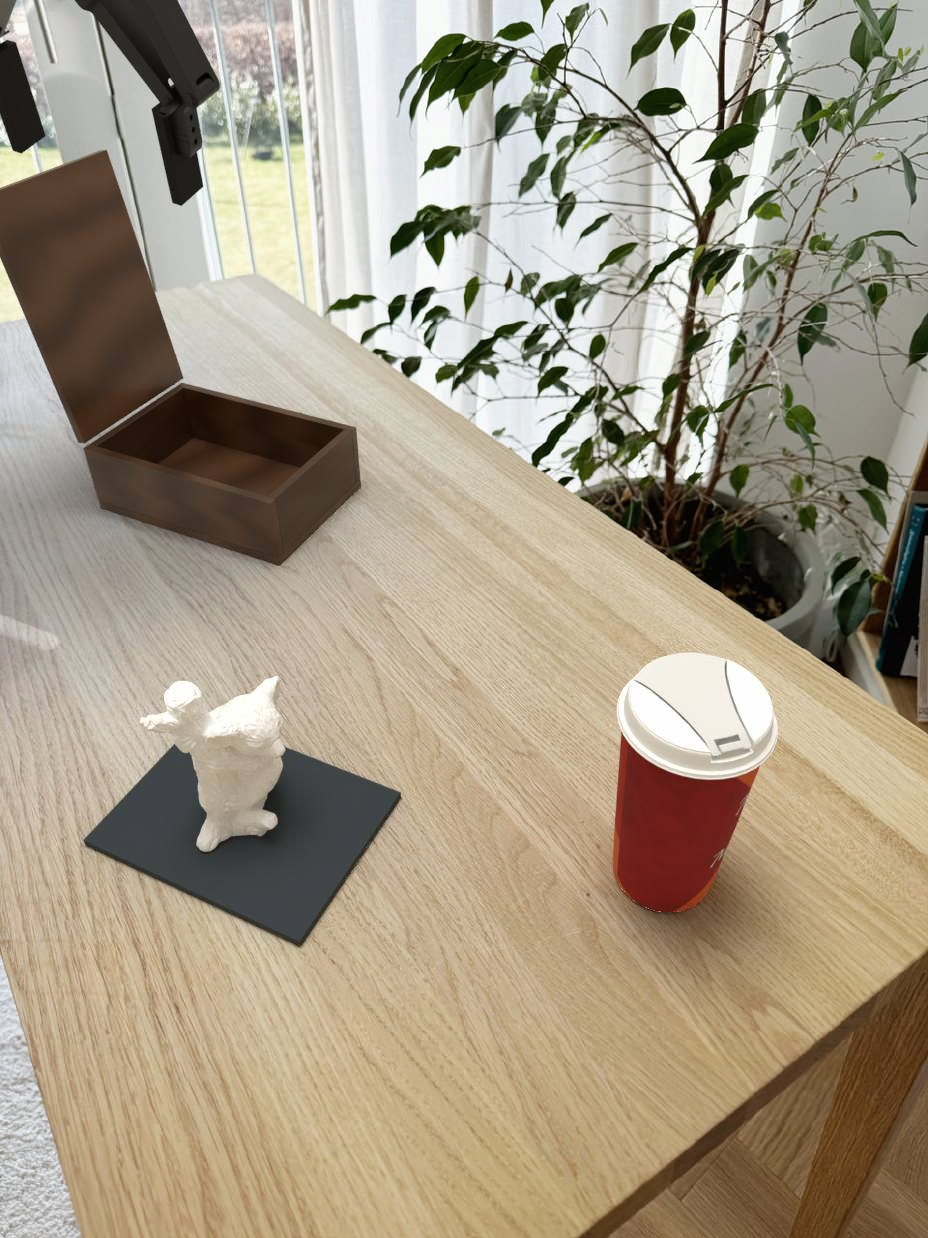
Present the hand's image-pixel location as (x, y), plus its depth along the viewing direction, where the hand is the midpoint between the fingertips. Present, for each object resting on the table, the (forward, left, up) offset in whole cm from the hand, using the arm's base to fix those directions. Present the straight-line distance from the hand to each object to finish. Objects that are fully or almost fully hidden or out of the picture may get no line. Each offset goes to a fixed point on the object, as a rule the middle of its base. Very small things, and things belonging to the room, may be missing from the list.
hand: (107, 168), depth 69 cm
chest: (+3, +4, -29) cm, 30 cm away
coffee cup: (+51, -18, -30) cm, 61 cm away
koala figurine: (+25, -26, -29) cm, 47 cm away
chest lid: (-8, +4, -13) cm, 16 cm away
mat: (+26, -26, -29) cm, 47 cm away
